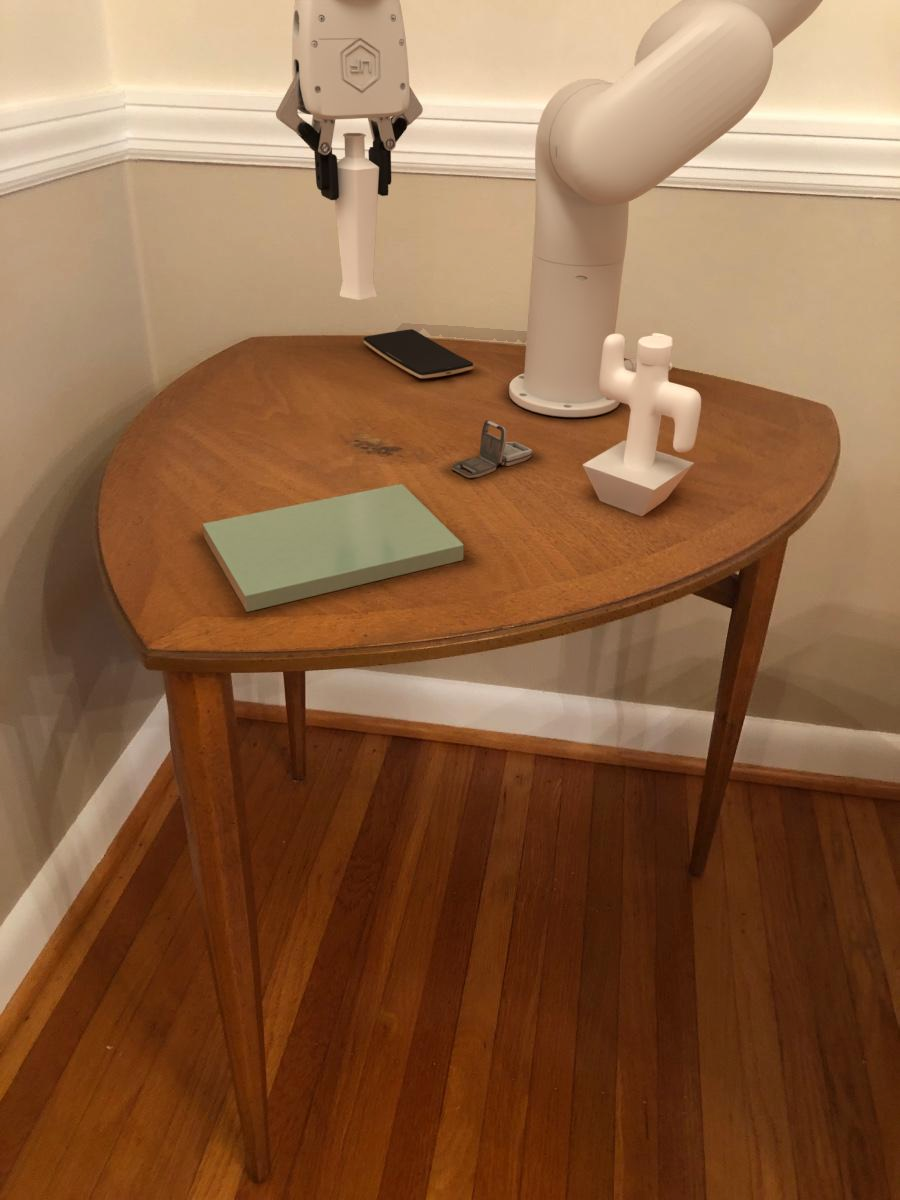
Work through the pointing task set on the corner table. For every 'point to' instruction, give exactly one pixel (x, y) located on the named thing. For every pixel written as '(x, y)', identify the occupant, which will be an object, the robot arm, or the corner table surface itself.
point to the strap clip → (493, 453)
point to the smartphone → (417, 354)
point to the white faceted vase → (357, 218)
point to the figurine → (643, 426)
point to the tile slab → (329, 545)
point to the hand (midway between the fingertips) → (354, 193)
